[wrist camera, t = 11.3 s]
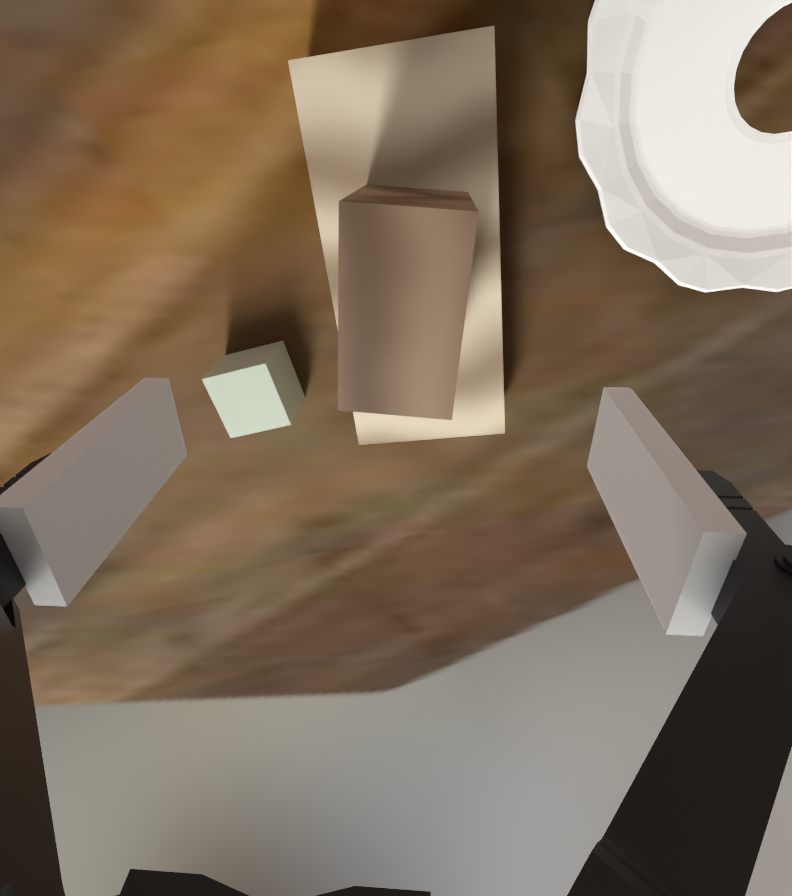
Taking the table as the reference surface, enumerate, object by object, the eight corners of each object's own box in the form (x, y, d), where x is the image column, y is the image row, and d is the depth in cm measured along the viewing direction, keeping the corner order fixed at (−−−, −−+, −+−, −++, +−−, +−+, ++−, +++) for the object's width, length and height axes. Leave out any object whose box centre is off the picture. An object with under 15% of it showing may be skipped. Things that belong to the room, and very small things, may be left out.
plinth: (497, 404, 43) (504, 433, 39) (366, 415, 44) (359, 444, 40) (486, 41, 31) (494, 25, 27) (307, 71, 33) (287, 60, 28)
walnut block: (467, 191, 31) (478, 211, 22) (448, 353, 36) (451, 420, 27) (366, 184, 31) (338, 201, 22) (361, 346, 36) (337, 410, 28)
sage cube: (305, 396, 43) (291, 424, 39) (250, 409, 44) (230, 438, 40) (283, 340, 41) (265, 363, 37) (225, 354, 42) (201, 379, 38)
